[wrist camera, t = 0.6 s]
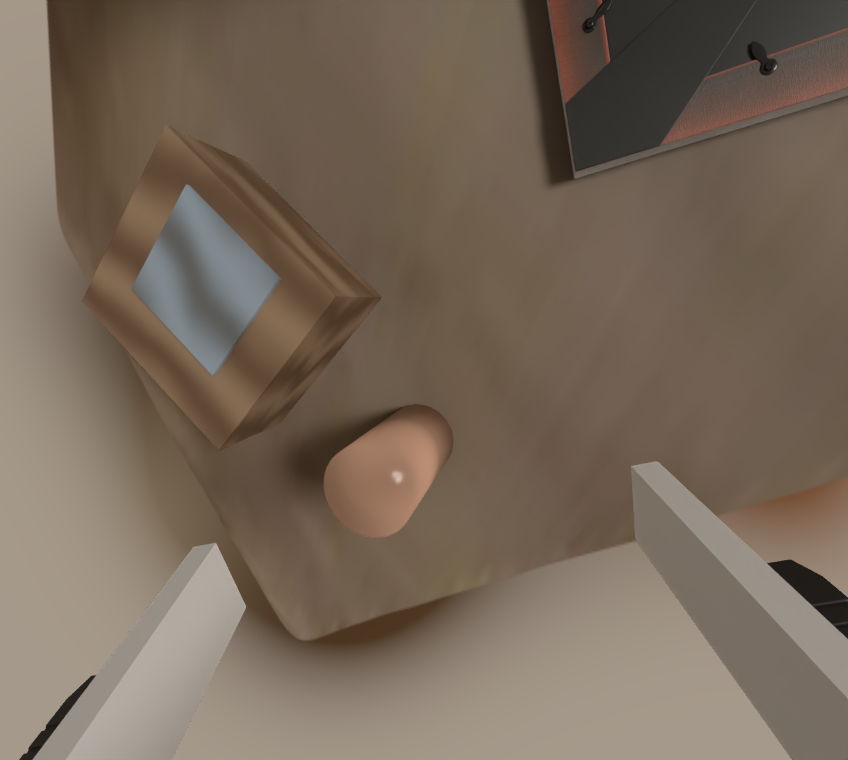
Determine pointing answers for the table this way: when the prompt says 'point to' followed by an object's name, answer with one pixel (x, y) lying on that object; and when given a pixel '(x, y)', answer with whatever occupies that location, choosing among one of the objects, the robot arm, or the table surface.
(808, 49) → the picture frame
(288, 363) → the walnut box
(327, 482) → the terracotta cylinder
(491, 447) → the table surface
